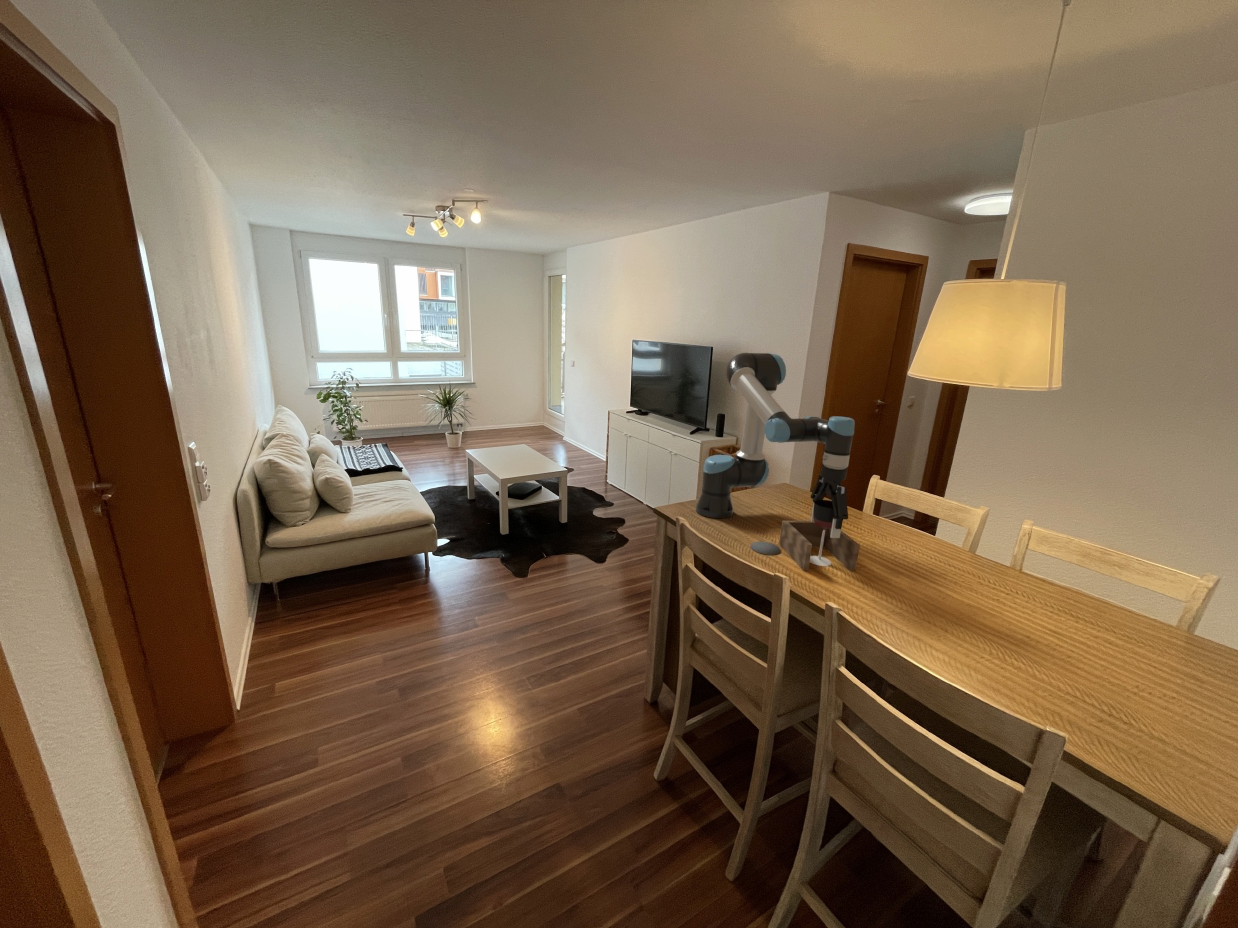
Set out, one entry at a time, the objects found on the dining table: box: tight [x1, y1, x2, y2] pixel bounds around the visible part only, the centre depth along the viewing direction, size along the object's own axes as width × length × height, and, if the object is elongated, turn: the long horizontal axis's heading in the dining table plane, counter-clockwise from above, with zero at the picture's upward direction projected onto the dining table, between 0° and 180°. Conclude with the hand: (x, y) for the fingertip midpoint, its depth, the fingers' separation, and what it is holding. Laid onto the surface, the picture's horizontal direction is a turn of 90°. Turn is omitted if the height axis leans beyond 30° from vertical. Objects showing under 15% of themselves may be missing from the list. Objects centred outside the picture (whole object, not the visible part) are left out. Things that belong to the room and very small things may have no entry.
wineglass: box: [809, 499, 835, 567], centre depth 161 cm, size 8×9×20 cm
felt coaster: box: [750, 541, 782, 556], centre depth 171 cm, size 10×10×1 cm
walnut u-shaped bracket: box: [778, 520, 861, 572], centre depth 165 cm, size 20×17×9 cm
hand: (824, 529), depth 161 cm, fingers open, 13 cm apart
